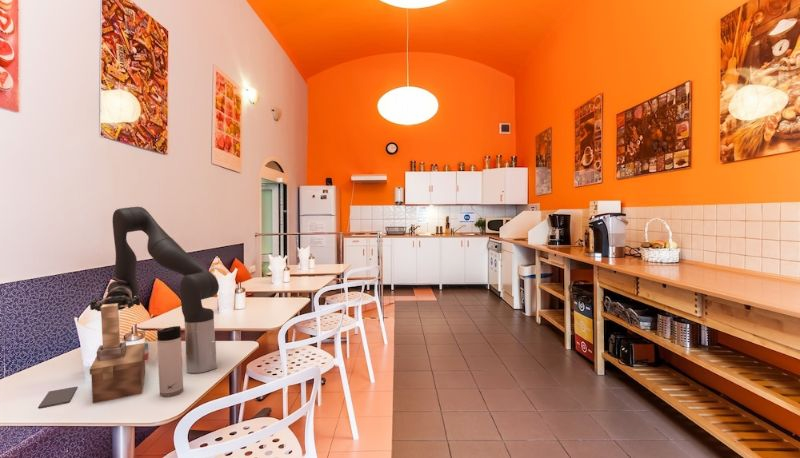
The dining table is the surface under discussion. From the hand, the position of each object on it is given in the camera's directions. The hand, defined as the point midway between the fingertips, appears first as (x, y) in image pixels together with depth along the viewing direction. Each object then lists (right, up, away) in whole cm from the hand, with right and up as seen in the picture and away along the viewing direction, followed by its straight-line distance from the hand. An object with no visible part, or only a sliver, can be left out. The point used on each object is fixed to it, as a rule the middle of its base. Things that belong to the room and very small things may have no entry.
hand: (114, 306), depth 139 cm
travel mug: (+27, -24, -13) cm, 38 cm away
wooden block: (+6, -14, -9) cm, 18 cm away
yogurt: (+1, -23, +11) cm, 26 cm away
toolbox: (+8, -24, -8) cm, 26 cm away
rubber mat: (-6, -24, -15) cm, 29 cm away
